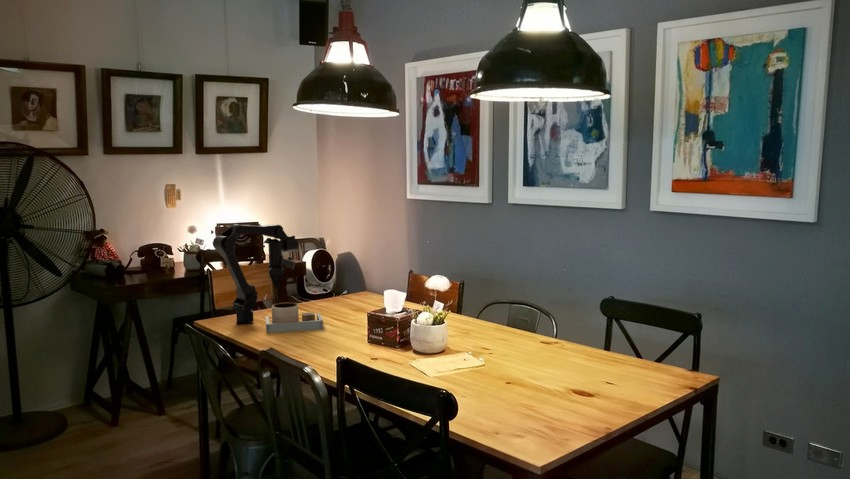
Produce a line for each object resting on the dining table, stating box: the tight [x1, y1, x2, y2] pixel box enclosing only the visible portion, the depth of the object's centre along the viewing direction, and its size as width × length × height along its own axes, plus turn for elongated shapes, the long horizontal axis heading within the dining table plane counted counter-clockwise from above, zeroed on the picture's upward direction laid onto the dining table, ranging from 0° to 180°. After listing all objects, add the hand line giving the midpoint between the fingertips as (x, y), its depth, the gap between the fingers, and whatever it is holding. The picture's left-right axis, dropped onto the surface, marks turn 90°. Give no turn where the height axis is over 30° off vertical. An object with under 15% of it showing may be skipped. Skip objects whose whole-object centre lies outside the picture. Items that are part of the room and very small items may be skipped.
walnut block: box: [301, 311, 316, 321], centre depth 281 cm, size 5×5×5 cm
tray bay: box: [265, 312, 324, 334], centre depth 279 cm, size 22×14×4 cm, turn 104°
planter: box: [271, 302, 300, 323], centre depth 277 cm, size 11×11×10 cm
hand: (276, 287), depth 298 cm, fingers closed
